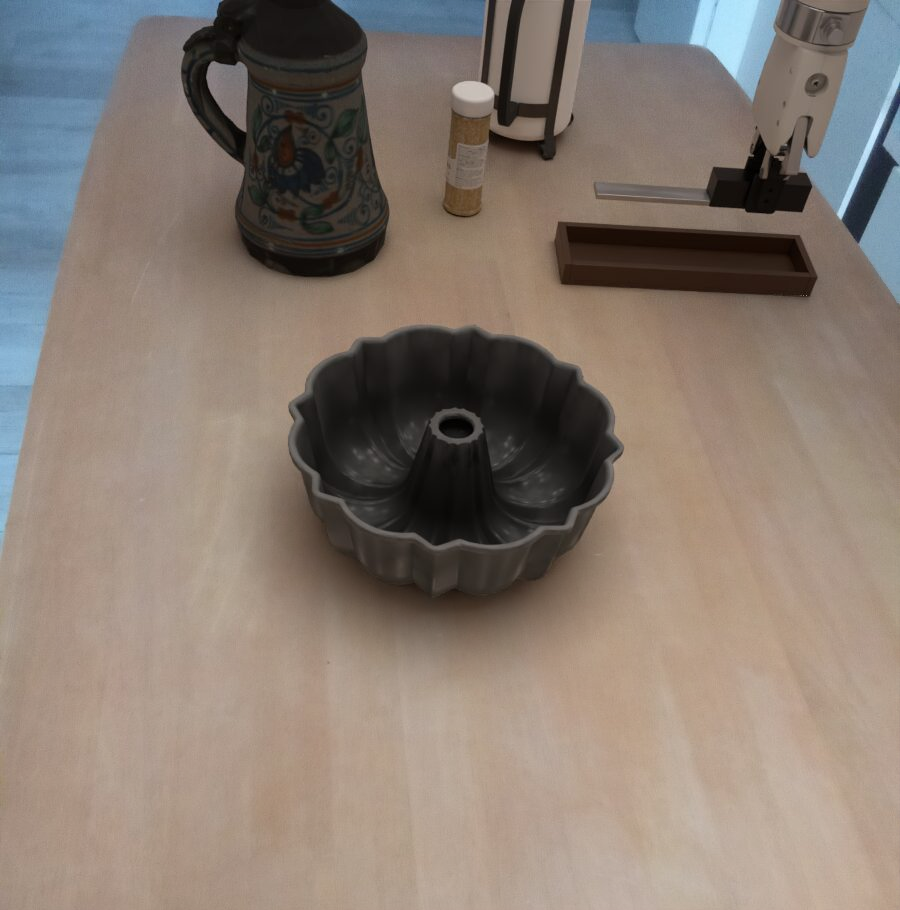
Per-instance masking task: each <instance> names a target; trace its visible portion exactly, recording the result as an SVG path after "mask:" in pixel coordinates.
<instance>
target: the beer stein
mask: <svg viewBox="0 0 900 910" xmlns="http://www.w3.org/2000/svg"><path fill="white" fill-rule="evenodd" d="M367 38H368V37H367V34H366V33H365V31H364V30H363V28H362V26H361V25H360V23H358V22H357V20H356V19H355V18H354V17H352V16H351V15H350V14H349V13H347V12H346V11H345V10H343V9H342V8H341V7H339V6H338V5H337V4H335V2H333V1H332V0H221V1H220V2H218V5H217V9H216V17H215V18H214V20H213V22H212V25H208V26H203V27H202V28H200V29H198V30H196V31H194V33H192V34H191V35H190V37H189V38H188V39H187V40H185V42H184V44H183V46H182V51H183V53H184V54H183V56H182V60H181V65H180V79H181V84H182V90H183V93H184V96H185V99H186V102H187V104H188V105H189V108H190V110H191V112H192V113H193V115H194V118H196V120H197V121H198V123H199V124H200V125H201V127H202V128H203V129H204V130H205V132H206V133H207V134H208V136H210V137H211V139H212V140H213V141H214V142H215V143H216V144H217V145H218V146H219V147H220V148H221V149H222V150H223V151H224V152H225V153H226V154H227V155H229V157H230V158H232V159H234V160H235V161H236V162H238V163H239V164H241V165H242V167H243V168H244V169H243V177H242V180H241V184H240V189H239V191H238V193H237V196H236V199H235V204H234V218H235V221H236V225H237V228H238V230H239V233H240V235H241V240H242V242H243V244H244V246H245V248H246V250H247V252H248V254H249V255H250V256H251V257H252V258H254V259H255V260H256V261H258V262H259V263H261V264H262V265H264V266H265V267H266V268H267V269H271V270H273V271H277V272H280V273H282V274H286V275H291V276H297V277H303V278H304V277H306V278H307V277H309V278H311V277H314V278H315V277H335V276H339V275H344V274H348V273H352V272H353V273H354V272H355V271H356V270H358V269H361V268H362V267H363V266H365V265H367V264H369V263H371V262H373V261H374V260H375V258H376V257H377V256H378V255H379V252H380V251H381V250H382V248H383V246H384V245H385V241H386V233H387V228H388V224H389V220H390V205H389V200H388V198H387V195H386V192H385V191H384V189H383V186H382V184H381V181H380V178H379V173H378V169H377V165H376V159H375V155H374V151H373V143H372V137H371V132H370V124H369V117H368V108H367V107H368V106H367V101H366V95H365V88H364V81H363V68H364V66H365V63H366V60H367V54H368V49H369V48H368V46H369V45H368V39H367ZM213 62H215V63H217V64H219V65H227V66H233V67H236V66H237V64H238V63H241V64H243V65H244V66H245V68H246V71H247V91H246V107H245V108H246V109H245V110H246V111H245V127H246V128H245V130H246V131H244V130H242V129H241V128H239V127H238V126H237V125H236V124H235V122H234V121H232V119H231V118H229V116H227V115H226V114H225V112H224V111H223V110H222V108H221V107H220V105H219V103H218V102H217V101H216V99H215V97H214V96H213V94H212V92H211V90H210V88H209V82H208V79H207V76H208V71H209V67H210V65H211V64H212V63H213Z"/></svg>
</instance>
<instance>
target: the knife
mask: <svg viewBox="0 0 900 910" xmlns="http://www.w3.org/2000/svg"><path fill="white" fill-rule="evenodd" d="M759 173H760V170H756V169H744V168H738V167H725V166H724V167H723V166H712V169H711V172H710V175H709V178H708V182H707V185H706V188H699V187H681V186H668V185H667V186H666V185H653V184H652V185H651V184H635V183H623V182H622V183H620V182H606V181H605V182H604V181H603V182H602V181H594V182H593V192H594V196H595V199H596V200H603V201H604V200H605V201H606V200H607V201H622V202H636V203H637V202H638V203H639V202H640V203H655V204H666V205H667V204H668V205H669V204H670V205H686V206H700V207H709V208H723V209H724V208H725V209H739V210H745V209H744V206H745V203H746V200H747V197H748V194H749V191H750V188H751V185H752V182H753V179H754V176H755V174H759ZM812 189H813V183H812V182H811V180H810V178H809V175H808V173H807V172H803V171H802V172H800V171H799V172H798V174H797V176H791V175H790V177H789V179H788V181H786V183H785V186H784V188H783V191H782V194H781V197H780V199H779V202H778V205H777V208H776V210H775V212H788V213H803V212H804V209H805V207H806V204H807V201H808V199H809V196H810V194H811V192H812Z"/></svg>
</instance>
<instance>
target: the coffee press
mask: <svg viewBox="0 0 900 910" xmlns="http://www.w3.org/2000/svg"><path fill="white" fill-rule="evenodd" d="M591 4H592V0H485V6H484V14H483V15H484V16H483V28H482V37H481V46H480V47H481V48H480V58H479V67H478V79H477V82H481V83H484V84H486V85H488V86H489V87H491V88H492V89H493V91H494V106H493V111H492V114H491V118H490V126H489V133H490V132H494V133H495V134H497V135H500V136H502V137H505V138H509V139H512V140H517V141H528V142H529V141H530V142H533V141H534V142H535V143H536V144H537V146H538V150H539V154H540V157H541V158H542V159H543V160H546V159H551V158H556V156H557V147H556V142H555V137H556V136H557V135H559V134H561V133H562V132H563V131H564V130H565V129H566V128H567V127H568V126H570V125H571V124H572V123H573V122H574V120H575V119H574V118H575V116H574V114H573V109H574V108H573V107H574V103H575V96H576V91H577V85H578V79H579V74H580V68H581V62H582V56H583V51H584V45H585V39H586V33H587V28H588V21H589V17H590V9H591Z"/></svg>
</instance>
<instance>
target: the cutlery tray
mask: <svg viewBox="0 0 900 910" xmlns="http://www.w3.org/2000/svg"><path fill="white" fill-rule="evenodd" d="M554 246H555V254H556V258H557V265H558V272H559V277H560V284H561V285H573V286H574V285H576V286H577V285H578V286H593V287H594V286H595V287H613V288H614V287H616V288H617V287H618V288H632V289H633V288H635V289H651V290H653V289H654V290H671V291H690V292H691V291H693V292H712V293H727V294H728V293H729V294H730V293H731V294H750V295H751V294H752V295H767V294H776V295H775V296H786V295H792V296H791V297H794V296H793V295H802V296H801V297H805V296H806V295H807V296H810V297H811V294H812V293H813V290H814V287H815V285H816V283H817V280H818V278H819V277H818V274H817V272H816V270H815V267H814V265H813V262H812V260H811V258H810V256H809V253H808V251H807V248H806V246H805V244H804V241H803V238H802V237H801V234H791V233H789V234H788V233H773V232H772V233H771V232H753V231H734V230H719V229H699V228H698V229H697V228H682V227H665V226H664V227H663V226H648V225H632V224H631V225H629V224H613V223H612V224H611V223H596V222H579V221H577V222H575V221H559V220H558V221H557V224H556V230H555V236H554ZM778 294H779V295H778ZM781 294H782V295H781ZM803 295H804V296H803Z"/></svg>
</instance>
